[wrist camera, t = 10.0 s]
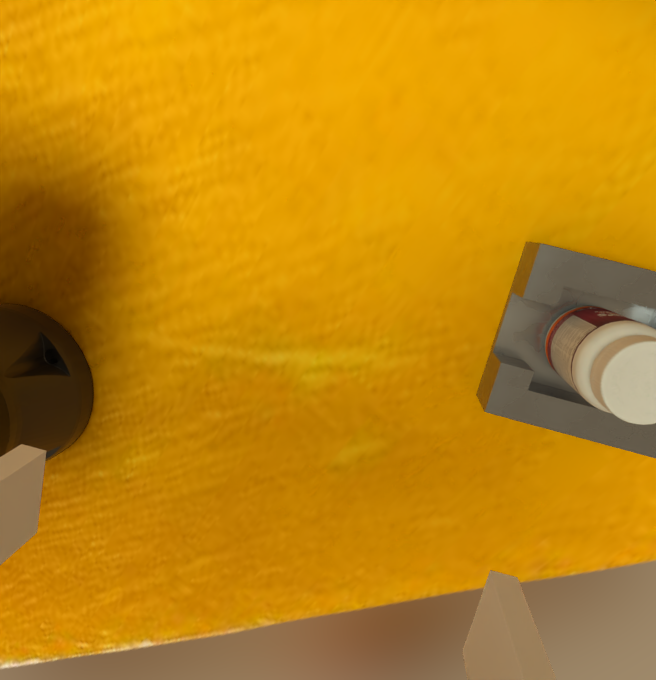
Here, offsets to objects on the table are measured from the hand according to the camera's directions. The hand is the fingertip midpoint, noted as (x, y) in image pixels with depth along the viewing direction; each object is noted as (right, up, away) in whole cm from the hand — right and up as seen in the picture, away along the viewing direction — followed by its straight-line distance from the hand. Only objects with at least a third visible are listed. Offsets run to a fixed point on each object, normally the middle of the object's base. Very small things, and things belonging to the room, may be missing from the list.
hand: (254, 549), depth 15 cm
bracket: (+22, +6, +27) cm, 36 cm away
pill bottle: (+22, +6, +27) cm, 35 cm away
